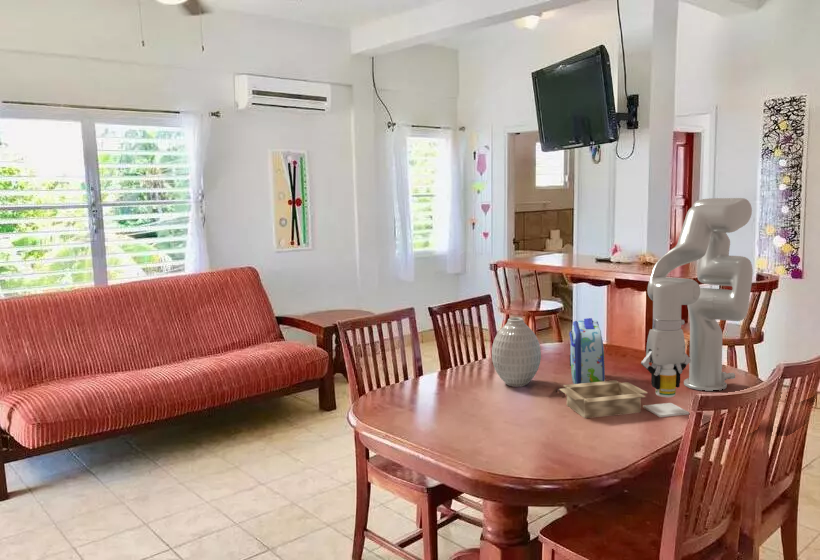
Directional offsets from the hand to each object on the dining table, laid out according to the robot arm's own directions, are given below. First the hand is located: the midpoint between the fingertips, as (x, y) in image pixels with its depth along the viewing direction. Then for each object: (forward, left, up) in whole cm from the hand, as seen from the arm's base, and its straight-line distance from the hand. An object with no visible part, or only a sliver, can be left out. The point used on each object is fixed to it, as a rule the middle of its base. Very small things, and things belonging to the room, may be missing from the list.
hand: (665, 386), depth 193 cm
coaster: (0, 0, -7) cm, 7 cm away
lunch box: (+9, -32, -8) cm, 34 cm away
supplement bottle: (0, 0, -3) cm, 3 cm away
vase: (+31, -39, -7) cm, 50 cm away
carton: (+16, -7, -7) cm, 19 cm away
